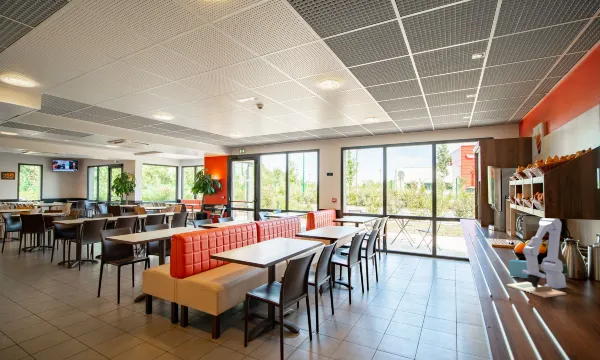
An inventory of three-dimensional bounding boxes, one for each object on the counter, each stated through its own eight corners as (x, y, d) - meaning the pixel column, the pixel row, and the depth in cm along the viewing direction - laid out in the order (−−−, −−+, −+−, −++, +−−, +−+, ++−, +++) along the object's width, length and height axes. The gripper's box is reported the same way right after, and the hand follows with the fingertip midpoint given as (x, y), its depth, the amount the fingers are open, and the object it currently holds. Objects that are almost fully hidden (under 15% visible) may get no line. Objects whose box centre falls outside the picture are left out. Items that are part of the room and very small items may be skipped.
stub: (552, 290, 186) (552, 285, 187) (566, 294, 178) (565, 288, 179) (532, 293, 184) (531, 287, 184) (544, 297, 176) (543, 291, 176)
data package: (531, 277, 216) (529, 260, 217) (530, 279, 213) (528, 262, 214) (511, 275, 224) (509, 259, 225) (510, 277, 221) (508, 260, 222)
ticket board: (527, 283, 204) (526, 281, 205) (553, 290, 187) (552, 288, 187) (506, 285, 202) (506, 284, 202) (530, 293, 184) (530, 291, 184)
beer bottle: (566, 278, 209) (561, 243, 211) (572, 281, 202) (567, 245, 203) (552, 278, 211) (548, 243, 213) (558, 281, 204) (553, 245, 206)
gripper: (517, 263, 197) (519, 284, 196) (537, 268, 183) (540, 290, 182) (526, 262, 198) (529, 283, 197) (547, 267, 184) (550, 289, 183)
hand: (535, 287), depth 190 cm, fingers closed
